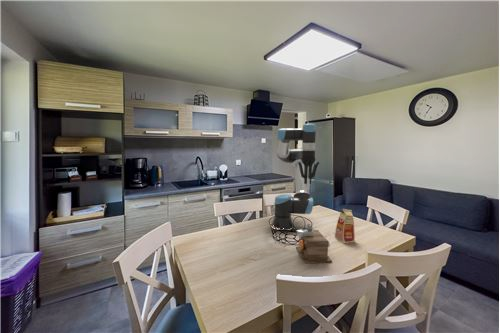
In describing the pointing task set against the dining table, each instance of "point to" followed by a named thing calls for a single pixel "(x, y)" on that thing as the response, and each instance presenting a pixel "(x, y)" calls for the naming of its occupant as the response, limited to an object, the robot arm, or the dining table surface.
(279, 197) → the robot arm
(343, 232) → the milk carton
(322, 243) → the hitch block
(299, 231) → the keeper bar
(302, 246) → the lynch pin
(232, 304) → the dining table surface
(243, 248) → the dining table surface
